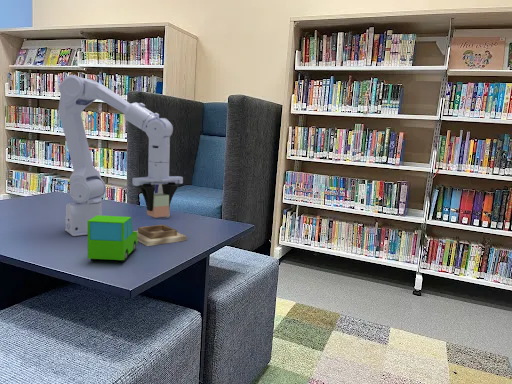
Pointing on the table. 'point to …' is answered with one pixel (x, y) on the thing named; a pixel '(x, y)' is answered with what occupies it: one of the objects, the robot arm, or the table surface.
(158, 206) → the green and red block
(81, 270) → the table surface
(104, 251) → the toy car
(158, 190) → the energy drink
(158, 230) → the socket plate
